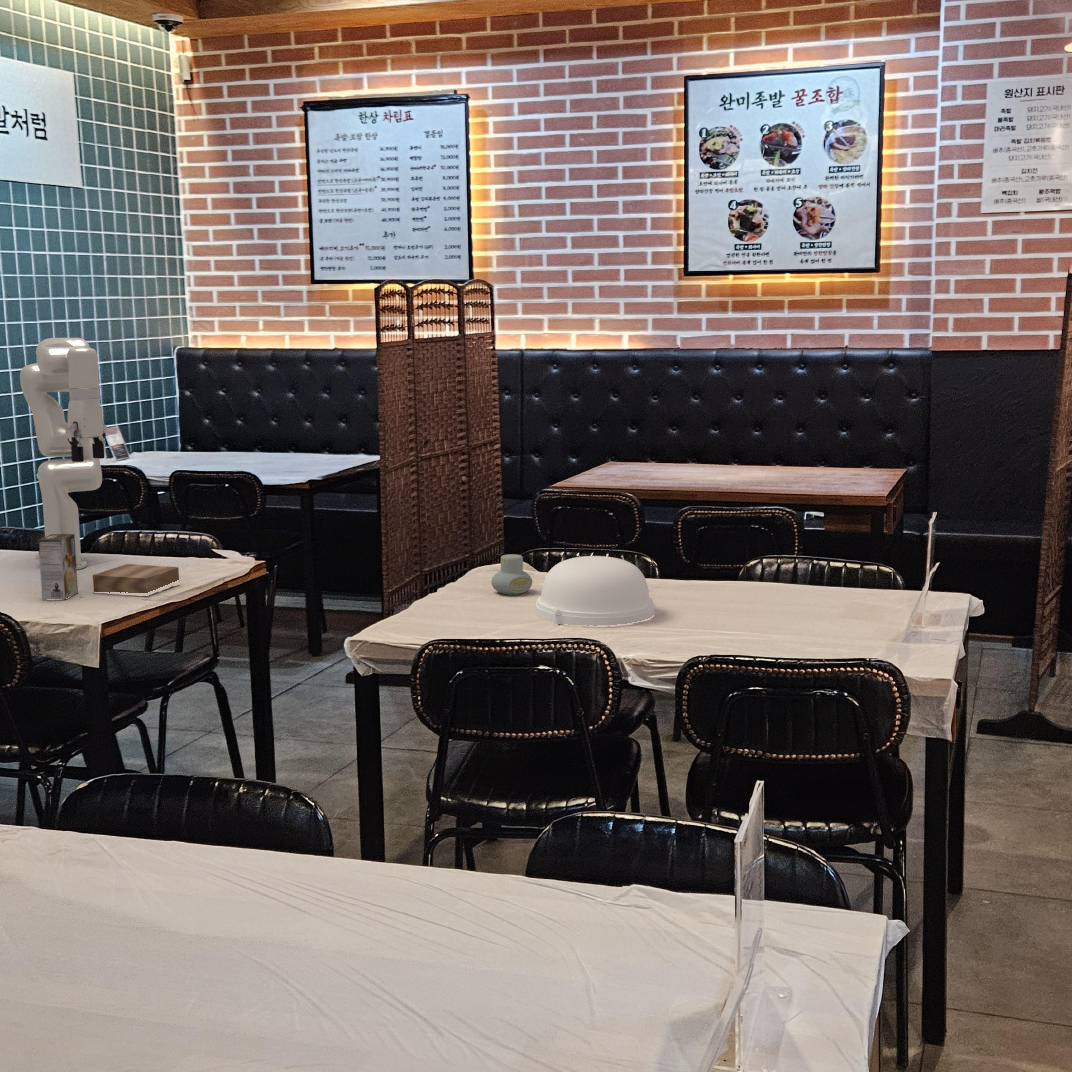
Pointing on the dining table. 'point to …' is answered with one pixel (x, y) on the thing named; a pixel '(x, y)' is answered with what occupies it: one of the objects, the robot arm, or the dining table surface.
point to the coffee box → (58, 566)
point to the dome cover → (594, 593)
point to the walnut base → (134, 578)
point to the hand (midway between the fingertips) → (88, 460)
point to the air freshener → (511, 576)
